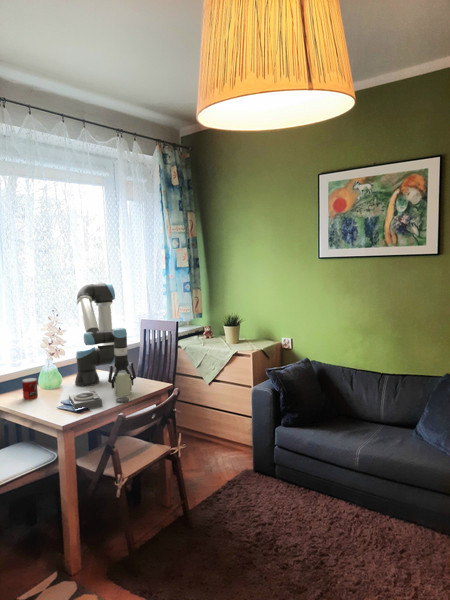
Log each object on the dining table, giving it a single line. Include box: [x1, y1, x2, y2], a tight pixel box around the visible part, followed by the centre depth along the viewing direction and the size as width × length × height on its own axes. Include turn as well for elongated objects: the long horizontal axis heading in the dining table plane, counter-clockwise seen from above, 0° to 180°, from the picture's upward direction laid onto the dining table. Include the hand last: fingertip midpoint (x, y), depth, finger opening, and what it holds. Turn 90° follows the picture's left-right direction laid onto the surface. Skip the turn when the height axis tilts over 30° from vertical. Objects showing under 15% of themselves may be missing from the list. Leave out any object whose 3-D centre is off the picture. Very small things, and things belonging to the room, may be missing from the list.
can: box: [114, 372, 132, 397], centre depth 253 cm, size 9×9×12 cm
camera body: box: [68, 389, 103, 410], centre depth 236 cm, size 18×14×5 cm
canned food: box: [21, 377, 39, 401], centre depth 250 cm, size 8×8×11 cm
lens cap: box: [116, 396, 130, 404], centre depth 240 cm, size 7×7×2 cm
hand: (122, 392), depth 254 cm, fingers closed on can, 9 cm apart
